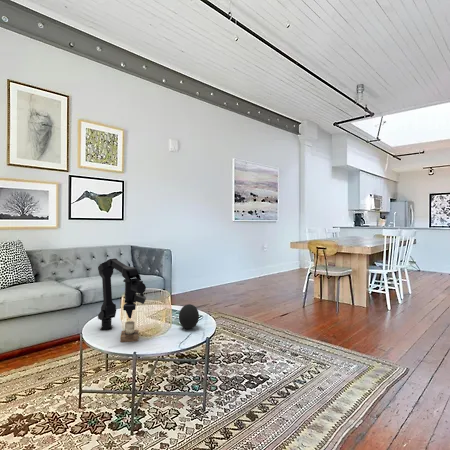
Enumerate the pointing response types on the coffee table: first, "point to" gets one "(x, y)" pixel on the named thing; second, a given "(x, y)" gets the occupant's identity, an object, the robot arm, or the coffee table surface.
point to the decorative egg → (188, 316)
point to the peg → (129, 327)
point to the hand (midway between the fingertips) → (130, 318)
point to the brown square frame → (129, 336)
